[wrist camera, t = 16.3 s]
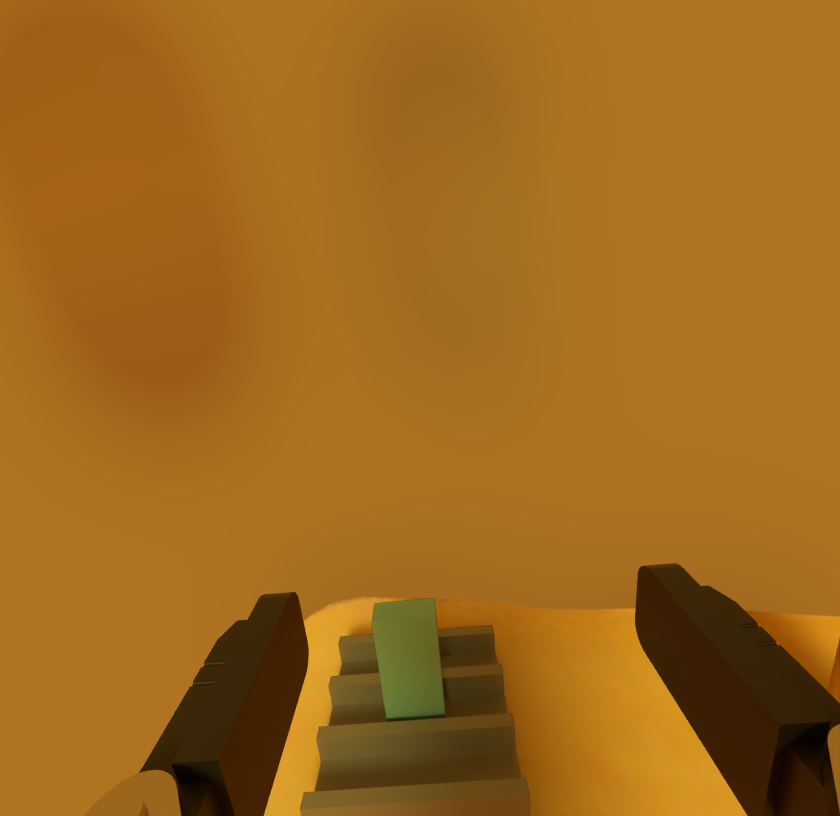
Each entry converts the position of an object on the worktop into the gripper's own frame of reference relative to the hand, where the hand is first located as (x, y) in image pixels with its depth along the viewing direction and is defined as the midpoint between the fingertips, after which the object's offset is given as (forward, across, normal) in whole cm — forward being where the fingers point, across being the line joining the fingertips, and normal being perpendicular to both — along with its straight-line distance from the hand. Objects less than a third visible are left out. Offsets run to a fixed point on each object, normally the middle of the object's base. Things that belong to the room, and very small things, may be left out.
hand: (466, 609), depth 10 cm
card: (+19, +4, +29) cm, 35 cm away
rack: (+19, +4, +30) cm, 36 cm away
